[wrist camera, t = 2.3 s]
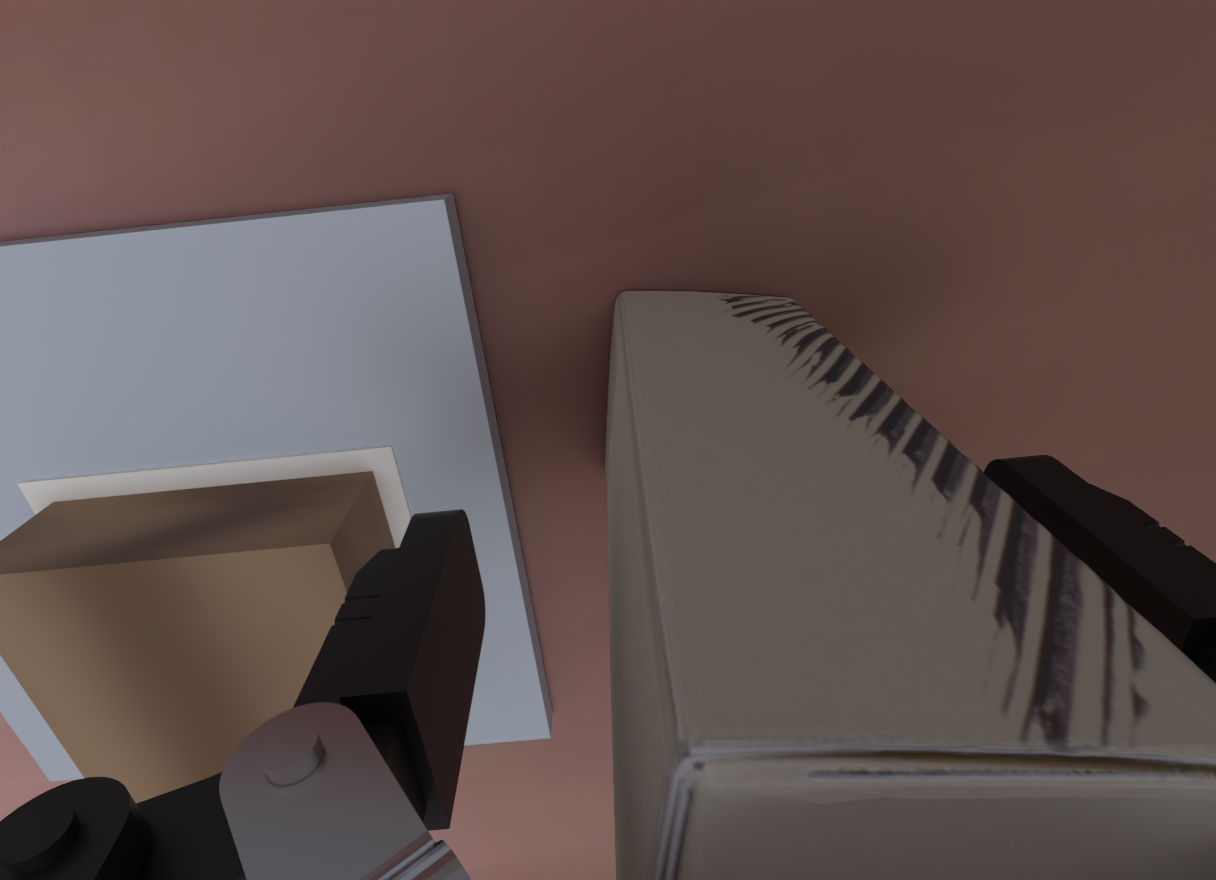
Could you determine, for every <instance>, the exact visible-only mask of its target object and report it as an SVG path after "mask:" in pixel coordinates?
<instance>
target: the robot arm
mask: <svg viewBox="0 0 1216 880" xmlns="http://www.w3.org/2000/svg"><path fill="white" fill-rule="evenodd" d="M984 474H985V475H986V476H987V477H988V478H990V479H991V480H992V481H993V482H994V483H995V484H996V485H997V486H998V487H1000V488H1001V489H1002V490H1003V491H1005V492H1006V493H1007V494H1008V495H1010V496H1011V497H1012V498H1013V499H1014V500H1015V501H1016V502H1017V503H1018V504H1019V505H1020V506H1021V507H1022V508H1023V510H1024V511H1026V512H1027V513H1028V514H1029V515H1030V516H1031V517H1032V518H1034V519H1035V520H1036V521H1037V522H1039V523H1040V524H1041V525H1042V526H1044V527H1045V528H1046V529H1047V530H1048V531H1049V532H1050V533H1051V534H1052V535H1053V536H1054V537H1055V538H1056V539H1057V540H1058V541H1060V542H1061V543H1062V544H1063V545H1064V546H1065V547H1066V548H1067V549H1068V550H1069V551H1070V552H1071V553H1073V554H1074V555H1075V556H1076V557H1077V558H1079V559H1080V560H1081V561H1082V562H1084V563H1085V564H1086V565H1087V566H1088V567H1089V568H1090V569H1091V570H1093V571H1094V572H1095V573H1096V574H1097V575H1098V576H1099V577H1100V578H1101V579H1102V580H1103V581H1105V582H1106V583H1107V584H1108V585H1109V586H1110V587H1111V588H1112V589H1113V590H1114V591H1115V592H1116V593H1117V594H1118V595H1119V596H1120V597H1121V598H1122V599H1123V600H1124V601H1125V602H1126V603H1127V604H1129V605H1130V606H1131V607H1132V608H1133V609H1134V610H1136V611H1137V612H1138V613H1139V614H1140V615H1141V616H1142V617H1144V618H1145V619H1146V620H1147V621H1148V622H1149V623H1150V624H1152V625H1153V626H1154V627H1155V628H1156V629H1157V630H1159V631H1160V632H1161V633H1162V634H1163V635H1164V636H1165V637H1166V638H1167V639H1168V640H1169V641H1170V642H1172V643H1173V644H1174V645H1175V646H1176V647H1177V648H1178V649H1179V650H1180V651H1181V652H1182V653H1183V654H1185V655H1186V656H1187V657H1188V658H1189V659H1190V660H1191V661H1192V662H1193V663H1194V664H1195V665H1196V666H1197V667H1199V668H1200V669H1201V670H1202V671H1203V672H1204V673H1205V674H1206V675H1207V676H1208V677H1209V678H1210V679H1212V680H1213V681H1214V682H1215V683H1216V563H1214V562H1213V561H1212V560H1210V559H1209V558H1207V557H1206V556H1205V555H1203V554H1202V553H1200V552H1199V551H1198V550H1196V549H1195V548H1194V547H1192V546H1185V544H1184V540H1182V539H1181V538H1180V537H1178V536H1177V535H1176V534H1174V533H1173V532H1171V531H1170V530H1169V529H1167V528H1166V527H1160V526H1159V522H1157V521H1156V520H1155V519H1153V518H1152V517H1151V516H1149V515H1148V514H1146V513H1145V512H1144V511H1142V510H1141V509H1139V508H1138V507H1137V506H1135V505H1134V504H1132V503H1131V502H1130V501H1128V500H1126V499H1123V498H1121V497H1119V496H1117V495H1114V494H1112V493H1110V492H1107V491H1105V490H1103V489H1100V488H1098V487H1096V486H1094V485H1091V484H1089V483H1087V482H1086V481H1085V480H1083V479H1082V478H1081V477H1079V476H1078V475H1077V474H1075V473H1074V472H1072V471H1071V470H1070V469H1068V468H1067V467H1066V466H1064V465H1063V464H1062V463H1060V462H1059V461H1058V460H1056V459H1055V458H1053V457H1051V456H1048V455H1038V456H1028V457H1017V458H1007V459H997V460H993V461H991V462H990V463H989V464H988V465H987V467H986V469H985V471H984ZM334 621H335V624H334V625H332V626H331V628H330V630H329V632H328V634H327V636H326V638H325V641H324V643H323V645H322V647H321V649H320V651H319V653H318V655H317V658H316V660H315V662H314V664H313V666H312V668H311V670H310V672H309V675H308V677H307V679H306V681H305V683H304V685H303V687H302V689H301V691H300V694H299V696H298V698H297V700H296V702H295V704H294V706H293V708H292V709H289V710H287V711H284V712H282V713H280V714H278V715H276V716H274V717H273V718H271V719H269V720H268V721H266V722H264V723H263V724H262V725H260V726H259V727H258V728H256V729H255V730H254V731H252V732H251V733H250V734H249V735H248V736H247V737H246V738H245V739H244V740H243V741H242V742H241V743H240V744H239V745H238V747H237V748H236V749H235V750H234V752H233V753H232V755H231V756H230V758H229V759H228V761H227V763H226V765H225V767H224V769H223V772H221V773H218V774H216V775H213V776H211V777H209V778H206V779H203V780H200V781H198V782H195V783H192V784H189V785H186V786H184V787H181V788H178V789H175V790H173V791H170V792H167V793H164V794H161V795H159V796H156V797H153V798H150V799H148V800H145V801H142V802H139V803H135V801H134V799H133V798H132V796H131V795H130V793H129V792H128V790H127V788H126V787H125V785H123V784H122V783H121V782H119V781H118V780H115V779H112V778H108V777H88V778H83V779H79V780H75V781H72V782H68V783H65V784H62V785H60V786H58V787H55V788H53V789H51V790H48V791H46V792H44V793H43V794H41V795H39V796H37V797H35V798H33V799H32V800H30V801H28V802H27V803H25V804H24V805H22V806H20V807H19V808H17V809H16V810H15V811H13V812H12V813H11V814H9V815H8V816H7V817H5V818H4V819H3V820H2V821H0V880H471V879H470V877H469V875H468V874H467V872H466V871H465V869H464V868H463V866H462V864H461V863H460V861H459V860H458V858H457V857H456V855H455V854H454V853H453V851H452V850H451V849H450V847H449V846H448V845H447V844H446V843H445V842H444V841H443V840H440V841H439V842H437V843H436V842H435V841H434V839H433V838H432V837H431V835H430V834H429V832H428V831H429V830H440V829H449V827H450V822H451V816H452V810H453V805H454V799H455V794H456V788H457V782H458V777H459V771H460V765H461V760H462V754H463V748H464V743H465V737H466V732H467V726H468V720H469V715H470V709H471V703H472V698H473V692H474V686H475V681H476V675H477V669H478V664H479V658H480V653H481V647H482V641H483V636H484V630H485V597H484V590H483V585H482V580H481V576H480V571H479V566H478V562H477V557H476V552H475V548H474V543H473V539H472V534H471V529H470V525H469V521H468V517H467V515H466V512H465V511H464V510H463V509H459V510H448V511H438V512H427V513H417V514H414V515H413V516H412V517H411V519H410V522H409V524H408V527H407V529H406V532H405V534H404V537H403V539H402V542H401V544H400V547H399V548H392V549H382V550H380V551H379V552H378V553H377V554H376V555H374V556H373V557H372V558H371V559H370V560H369V561H368V562H367V563H366V564H365V565H364V566H363V567H362V568H361V569H360V570H359V571H358V572H357V573H356V575H355V577H354V579H353V581H352V583H351V586H350V588H349V590H348V592H347V594H346V596H345V603H342V605H341V607H340V609H339V611H338V613H337V615H336V617H335V619H334Z"/></svg>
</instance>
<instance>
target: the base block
mask: <svg viewBox="0 0 1216 880" xmlns="http://www.w3.org/2000/svg"><path fill="white" fill-rule="evenodd" d="M392 548H395V545H394V541H393V538H392V534H391V531H390V528H389V524H388V521H387V517H386V514H385V511H384V507H383V504H382V501H381V497H380V494H379V490H378V487H377V484H376V480H375V477H374V473H373V471H368V472H358V473H347V474H337V475H327V476H316V477H306V478H296V479H285V480H275V481H265V482H254V483H244V484H234V485H223V486H213V487H203V488H192V489H182V490H172V491H161V492H151V493H141V494H130V495H120V496H110V497H99V498H89V499H79V500H68V501H58V502H52V503H51V504H50V505H48V506H47V507H46V508H44V509H43V510H42V511H40V512H39V513H37V514H36V515H35V516H33V517H32V518H31V519H29V520H28V521H27V522H25V523H24V524H23V525H21V526H20V527H19V528H17V529H16V530H15V531H13V532H12V533H10V534H9V535H8V536H6V537H5V538H4V539H2V540H1V541H0V655H1V657H2V658H3V660H4V661H5V663H6V664H7V666H8V667H9V669H10V670H11V672H12V673H13V674H14V676H15V677H16V679H17V680H18V682H19V683H20V685H21V686H22V688H23V689H24V691H25V692H26V693H27V695H28V696H29V698H30V699H31V701H32V702H33V704H34V705H35V707H36V708H37V710H38V711H39V712H40V714H41V715H42V717H43V718H44V720H45V721H46V723H47V724H48V726H49V727H50V729H51V730H52V731H53V733H54V734H55V736H56V737H57V739H58V740H59V742H60V743H61V745H62V746H63V748H64V749H65V750H66V752H67V753H68V755H69V756H70V758H71V759H72V761H73V762H74V764H75V765H76V767H77V768H78V769H79V771H80V772H81V774H82V775H83V777H84V778H88V777H108V778H112V779H115V780H118V781H119V782H121V783H122V784H123V785H125V787H126V788H127V790H128V792H129V793H130V795H131V796H132V798H133V799H134V801H135V803H139V802H142V801H145V800H148V799H150V798H153V797H156V796H159V795H161V794H164V793H167V792H170V791H173V790H175V789H178V788H181V787H184V786H186V785H189V784H192V783H195V782H198V781H200V780H203V779H206V778H209V777H211V776H213V775H216V774H218V773H221V772H223V769H224V767H225V765H226V763H227V761H228V759H229V758H230V756H231V755H232V753H233V752H234V750H235V749H236V748H237V747H238V745H239V744H240V743H241V742H242V741H243V740H244V739H245V738H246V737H247V736H248V735H249V734H250V733H251V732H252V731H254V730H255V729H256V728H258V727H259V726H260V725H262V724H263V723H264V722H266V721H268V720H269V719H271V718H273V717H274V716H276V715H278V714H280V713H282V712H284V711H287V710H289V709H292V708H293V706H294V704H295V702H296V700H297V698H298V696H299V694H300V691H301V689H302V687H303V685H304V683H305V681H306V679H307V677H308V675H309V672H310V670H311V668H312V666H313V664H314V662H315V660H316V658H317V655H318V653H319V651H320V649H321V647H322V645H323V643H324V641H325V638H326V636H327V634H328V632H329V630H330V628H331V626H332V625H334V624H335V621H334V619H335V617H336V615H337V613H338V611H339V609H340V607H341V605H342V603H345V596H346V594H347V592H348V590H349V588H350V586H351V583H352V581H353V579H354V577H355V575H356V573H357V572H358V571H359V570H360V569H361V568H362V567H363V566H364V565H365V564H366V563H367V562H368V561H369V560H370V559H371V558H372V557H373V556H374V555H376V554H377V553H378V552H379V551H380V550H382V549H392Z"/></svg>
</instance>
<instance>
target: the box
mask: <svg viewBox="0 0 1216 880" xmlns="http://www.w3.org/2000/svg"><path fill="white" fill-rule="evenodd" d="M605 478H606V493H607V528H608V569H609V620H610V669H611V711H612V747H613V784H614V818H615V851H616V880H1216V683H1215V682H1214V681H1213V680H1212V679H1210V678H1209V677H1208V676H1207V675H1206V674H1205V673H1204V672H1203V671H1202V670H1201V669H1200V668H1199V667H1197V666H1196V665H1195V664H1194V663H1193V662H1192V661H1191V660H1190V659H1189V658H1188V657H1187V656H1186V655H1185V654H1183V653H1182V652H1181V651H1180V650H1179V649H1178V648H1177V647H1176V646H1175V645H1174V644H1173V643H1172V642H1170V641H1169V640H1168V639H1167V638H1166V637H1165V636H1164V635H1163V634H1162V633H1161V632H1160V631H1159V630H1157V629H1156V628H1155V627H1154V626H1153V625H1152V624H1150V623H1149V622H1148V621H1147V620H1146V619H1145V618H1144V617H1142V616H1141V615H1140V614H1139V613H1138V612H1137V611H1136V610H1134V609H1133V608H1132V607H1131V606H1130V605H1129V604H1127V603H1126V602H1125V601H1124V600H1123V599H1122V598H1121V597H1120V596H1119V595H1118V594H1117V593H1116V592H1115V591H1114V590H1113V589H1112V588H1111V587H1110V586H1109V585H1108V584H1107V583H1106V582H1105V581H1103V580H1102V579H1101V578H1100V577H1099V576H1098V575H1097V574H1096V573H1095V572H1094V571H1093V570H1091V569H1090V568H1089V567H1088V566H1087V565H1086V564H1085V563H1084V562H1082V561H1081V560H1080V559H1079V558H1077V557H1076V556H1075V555H1074V554H1073V553H1071V552H1070V551H1069V550H1068V549H1067V548H1066V547H1065V546H1064V545H1063V544H1062V543H1061V542H1060V541H1058V540H1057V539H1056V538H1055V537H1054V536H1053V535H1052V534H1051V533H1050V532H1049V531H1048V530H1047V529H1046V528H1045V527H1044V526H1042V525H1041V524H1040V523H1039V522H1037V521H1036V520H1035V519H1034V518H1032V517H1031V516H1030V515H1029V514H1028V513H1027V512H1026V511H1024V510H1023V508H1022V507H1021V506H1020V505H1019V504H1018V503H1017V502H1016V501H1015V500H1014V499H1013V498H1012V497H1011V496H1010V495H1008V494H1007V493H1006V492H1005V491H1003V490H1002V489H1001V488H1000V487H998V486H997V485H996V484H995V483H994V482H993V481H992V480H991V479H990V478H988V477H987V476H986V475H985V474H984V473H983V472H982V471H981V469H980V468H978V467H977V466H976V465H975V464H974V463H973V462H972V461H970V460H969V459H968V458H967V457H965V456H964V455H963V454H961V453H960V452H959V451H958V450H957V449H956V448H955V447H954V446H953V445H952V444H951V443H950V441H949V440H948V439H947V438H946V437H944V436H943V435H942V434H941V433H939V432H938V431H937V430H936V429H935V428H934V427H933V426H932V425H931V424H929V423H928V422H927V421H926V420H925V419H924V418H923V417H922V416H921V415H920V414H919V413H917V412H916V411H915V410H913V409H912V408H911V407H910V406H909V405H908V404H907V403H906V402H905V401H904V400H903V399H902V398H901V397H900V396H899V395H898V394H896V393H895V392H894V391H893V390H892V389H891V388H890V387H889V386H887V385H886V384H885V383H884V382H883V381H882V380H881V379H880V378H879V377H878V376H877V375H875V374H874V373H873V372H872V371H870V370H869V369H868V368H867V366H866V365H865V364H864V363H863V362H862V361H860V360H859V359H858V358H857V357H855V356H854V355H853V354H852V353H851V352H850V351H849V350H848V349H847V348H846V347H845V346H844V345H843V344H841V343H840V342H839V341H838V340H837V339H836V338H835V337H834V336H833V335H832V334H831V333H829V332H828V331H827V330H826V329H825V327H823V326H822V325H820V324H819V323H818V321H816V320H815V319H814V318H813V317H812V316H811V315H810V314H808V313H807V312H806V311H805V310H804V309H803V308H802V307H800V306H799V304H798V303H797V302H796V301H795V300H793V299H791V298H786V297H772V296H758V295H746V294H730V293H713V292H694V291H624V292H621V293H620V294H619V295H618V297H617V298H616V302H615V309H614V318H613V329H612V340H611V352H610V367H609V383H608V403H607V425H606V452H605Z"/></svg>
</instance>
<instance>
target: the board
mask: <svg viewBox="0 0 1216 880" xmlns="http://www.w3.org/2000/svg"><path fill="white" fill-rule="evenodd" d="M368 471H373V473H374V477H375V480H376V484H377V487H378V490H379V494H380V497H381V501H382V504H383V507H384V511H385V514H386V517H387V521H388V524H389V528H390V531H391V534H392V538H393V541H394V545H395V548H399V547H400V544H401V542H402V539H403V537H404V534H405V532H406V529H407V527H408V524H409V522H410V519H411V517H412V516H413V515H414V514H417V513H427V512H438V511H448V510H459V509H463V510H464V511H465V512H466V515H467V517H468V521H469V525H470V529H471V534H472V539H473V543H474V548H475V552H476V557H477V562H478V566H479V571H480V576H481V580H482V585H483V590H484V597H485V630H484V636H483V641H482V647H481V653H480V658H479V664H478V669H477V675H476V681H475V686H474V692H473V698H472V703H471V709H470V715H469V720H468V726H467V732H466V737H465V743H464V746H465V745H477V744H488V743H500V742H511V741H523V740H534V739H546V738H551V725H552V708H551V702H550V697H549V692H548V687H547V681H546V676H545V671H544V666H543V660H542V655H541V650H540V645H539V640H538V634H537V629H536V624H535V619H534V613H533V608H532V603H531V598H530V592H529V587H528V582H527V577H526V571H525V566H524V561H523V556H522V551H521V545H520V540H519V535H518V530H517V524H516V519H515V514H514V509H513V503H512V498H511V493H510V488H509V483H508V477H507V472H506V467H505V462H504V456H503V451H502V446H501V441H500V435H499V430H498V425H497V420H496V415H495V409H494V404H493V399H492V394H491V388H490V383H489V378H488V373H487V367H486V362H485V357H484V352H483V347H482V341H481V336H480V331H479V326H478V320H477V315H476V310H475V305H474V299H473V294H472V289H471V284H470V279H469V273H468V268H467V263H466V258H465V252H464V247H463V242H462V237H461V231H460V226H459V221H458V216H457V210H456V205H455V200H454V195H453V194H443V195H434V196H424V197H415V198H406V199H396V200H387V201H377V202H368V203H359V204H349V205H340V206H330V207H321V208H312V209H302V210H293V211H284V212H274V213H265V214H255V215H246V216H237V217H227V218H218V219H208V220H199V221H190V222H180V223H171V224H161V225H152V226H143V227H133V228H124V229H114V230H105V231H96V232H86V233H77V234H67V235H58V236H49V237H39V238H30V239H20V240H11V241H2V242H0V541H1V540H2V539H4V538H5V537H6V536H8V535H9V534H10V533H12V532H13V531H15V530H16V529H17V528H19V527H20V526H21V525H23V524H24V523H25V522H27V521H28V520H29V519H31V518H32V517H33V516H35V515H36V514H37V513H39V512H40V511H42V510H43V509H44V508H46V507H47V506H48V505H50V504H51V503H52V502H58V501H68V500H79V499H89V498H99V497H110V496H120V495H130V494H141V493H151V492H161V491H172V490H182V489H192V488H203V487H213V486H223V485H234V484H244V483H254V482H265V481H275V480H285V479H296V478H306V477H316V476H327V475H337V474H347V473H358V472H368ZM0 712H1V714H2V715H3V717H4V718H5V719H6V721H7V722H8V723H9V725H10V726H11V728H12V729H13V730H14V732H15V733H16V735H17V736H18V737H19V739H20V740H21V741H22V743H23V744H24V746H25V747H26V748H27V750H28V751H29V753H30V754H31V755H32V757H33V758H34V759H35V761H36V762H37V764H38V765H39V766H40V768H41V769H42V771H43V772H44V773H45V775H46V776H47V778H48V779H49V780H50V781H61V780H73V779H83V778H84V777H83V775H82V774H81V772H80V771H79V769H78V768H77V767H76V765H75V764H74V762H73V761H72V759H71V758H70V756H69V755H68V753H67V752H66V750H65V749H64V748H63V746H62V745H61V743H60V742H59V740H58V739H57V737H56V736H55V734H54V733H53V731H52V730H51V729H50V727H49V726H48V724H47V723H46V721H45V720H44V718H43V717H42V715H41V714H40V712H39V711H38V710H37V708H36V707H35V705H34V704H33V702H32V701H31V699H30V698H29V696H28V695H27V693H26V692H25V691H24V689H23V688H22V686H21V685H20V683H19V682H18V680H17V679H16V677H15V676H14V674H13V673H12V672H11V670H10V669H9V667H8V666H7V664H6V663H5V661H4V660H3V658H2V657H1V655H0Z"/></svg>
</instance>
